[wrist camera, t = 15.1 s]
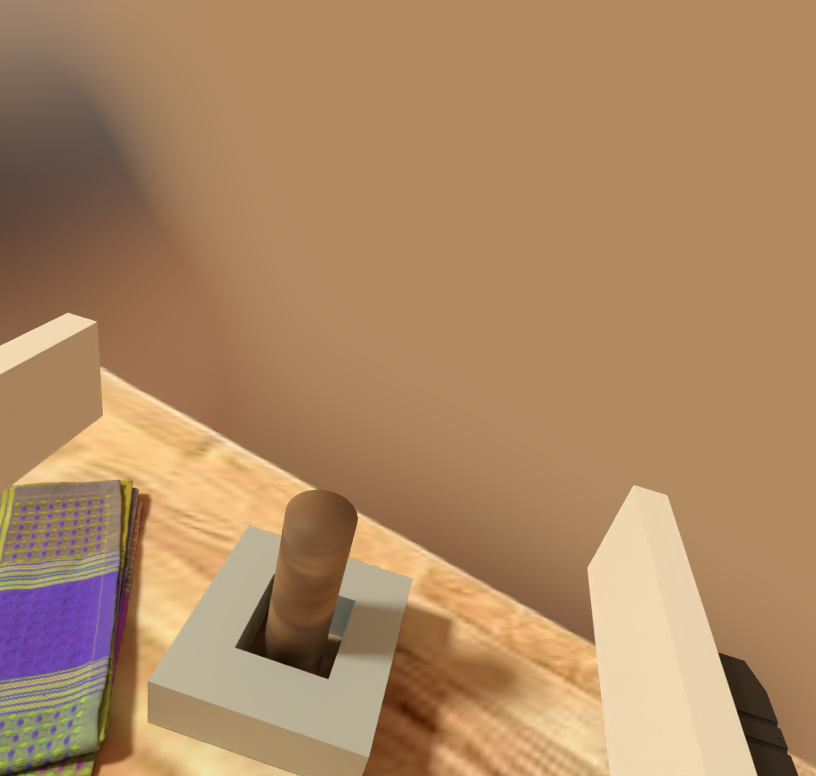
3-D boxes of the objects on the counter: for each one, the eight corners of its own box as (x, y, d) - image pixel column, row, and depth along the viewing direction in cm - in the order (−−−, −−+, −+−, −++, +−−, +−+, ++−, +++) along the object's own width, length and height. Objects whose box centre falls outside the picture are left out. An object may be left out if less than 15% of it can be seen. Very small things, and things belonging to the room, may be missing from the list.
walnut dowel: (328, 645, 44) (365, 502, 36) (308, 699, 40) (346, 551, 33) (274, 627, 44) (300, 482, 37) (250, 679, 40) (274, 528, 33)
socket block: (399, 614, 48) (412, 578, 46) (354, 794, 36) (368, 757, 33) (244, 562, 48) (248, 525, 46) (147, 722, 36) (148, 681, 34)
